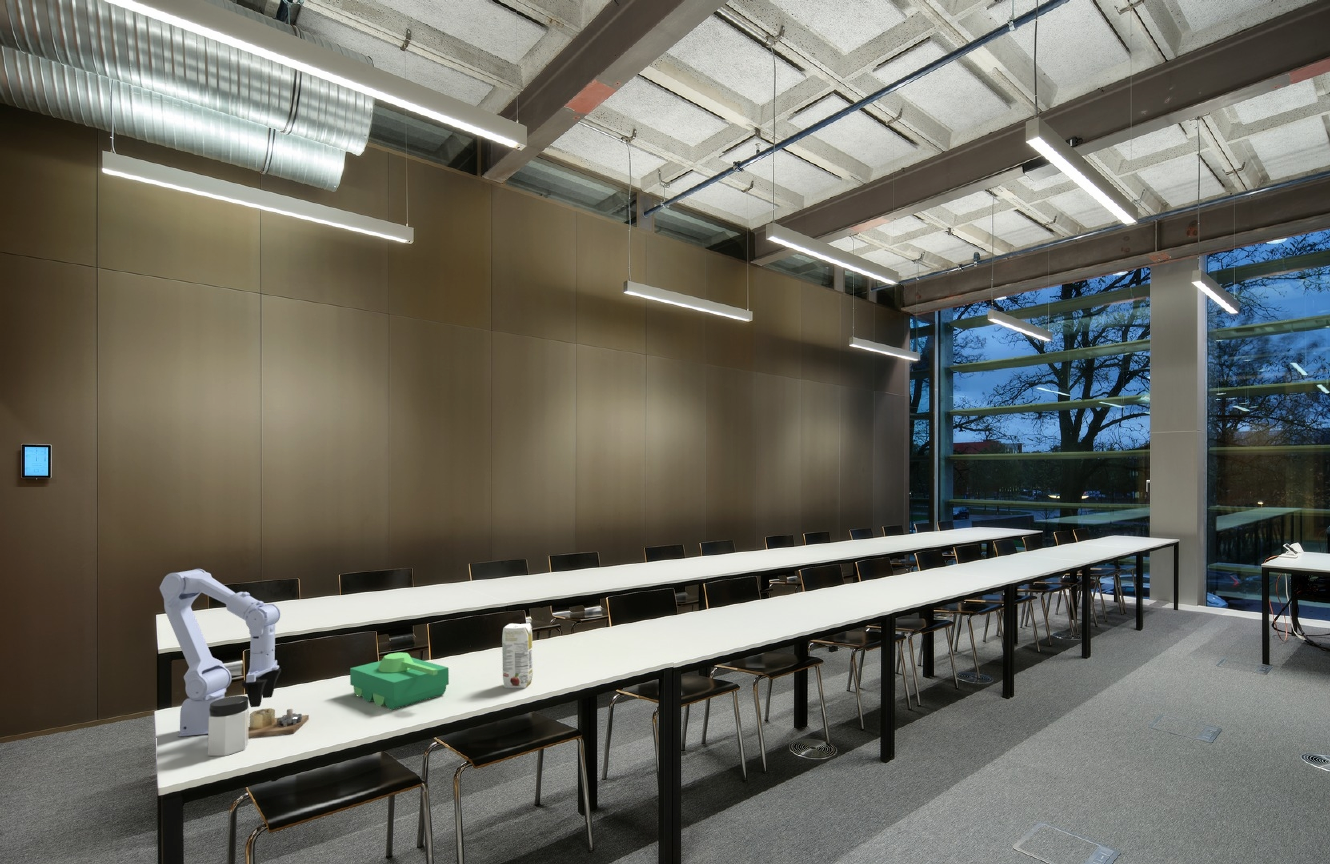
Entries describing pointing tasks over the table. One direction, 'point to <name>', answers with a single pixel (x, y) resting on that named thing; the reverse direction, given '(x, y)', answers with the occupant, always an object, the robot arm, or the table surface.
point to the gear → (289, 720)
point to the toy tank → (399, 680)
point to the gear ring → (262, 719)
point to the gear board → (275, 729)
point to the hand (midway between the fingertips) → (261, 701)
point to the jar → (228, 726)
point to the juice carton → (517, 655)
